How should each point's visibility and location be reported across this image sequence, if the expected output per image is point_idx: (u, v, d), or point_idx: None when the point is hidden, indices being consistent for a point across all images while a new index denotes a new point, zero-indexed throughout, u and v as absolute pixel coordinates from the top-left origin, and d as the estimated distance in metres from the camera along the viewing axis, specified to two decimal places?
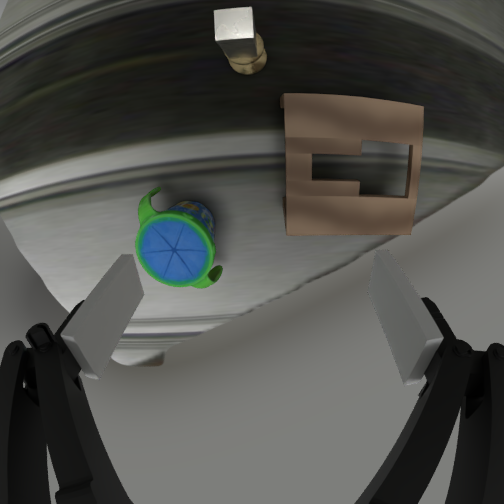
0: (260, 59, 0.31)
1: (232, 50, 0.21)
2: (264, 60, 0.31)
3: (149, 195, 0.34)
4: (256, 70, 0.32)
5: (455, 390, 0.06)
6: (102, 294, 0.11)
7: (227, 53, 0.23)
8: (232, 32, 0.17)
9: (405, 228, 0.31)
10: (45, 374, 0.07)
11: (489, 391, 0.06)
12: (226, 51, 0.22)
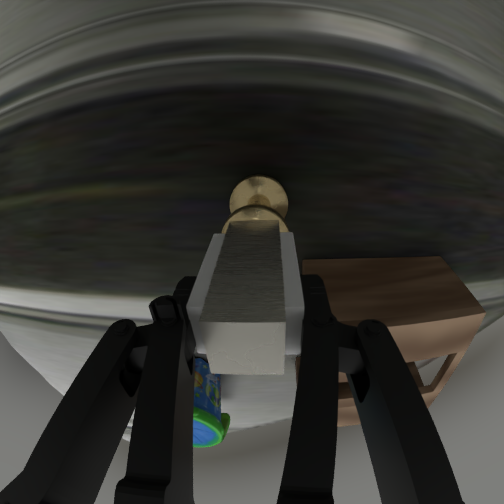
0: (278, 209, 0.24)
1: None
2: (284, 211, 0.24)
3: None
4: None
5: (327, 360, 0.08)
6: None
7: None
8: (243, 366, 0.11)
9: None
10: (159, 351, 0.09)
11: (373, 374, 0.08)
12: None
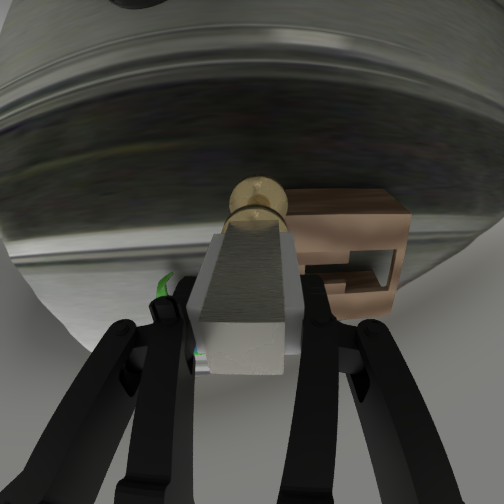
0: (278, 210, 0.24)
1: None
2: (284, 211, 0.24)
3: (165, 285, 0.41)
4: None
5: (327, 360, 0.08)
6: None
7: None
8: (242, 366, 0.11)
9: (384, 311, 0.38)
10: (158, 351, 0.09)
11: (373, 374, 0.08)
12: None
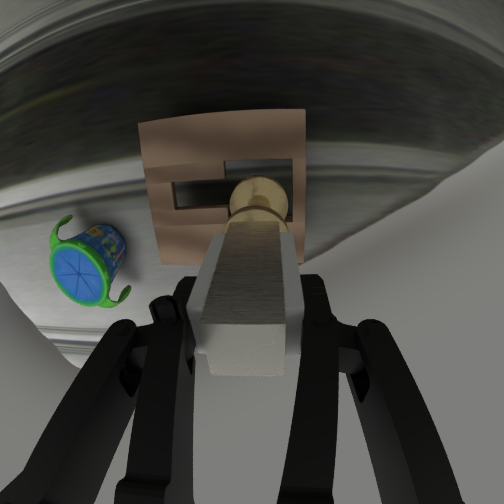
0: (278, 210, 0.24)
1: None
2: (284, 212, 0.24)
3: (58, 224, 0.33)
4: None
5: (327, 360, 0.08)
6: None
7: None
8: (242, 367, 0.11)
9: None
10: (159, 351, 0.09)
11: (373, 374, 0.08)
12: None
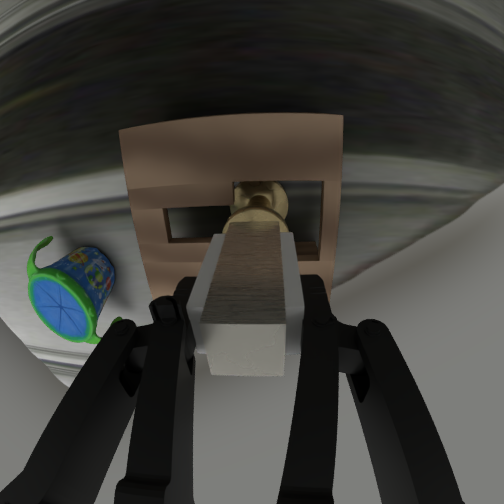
0: (278, 210, 0.24)
1: None
2: (284, 212, 0.24)
3: (35, 248, 0.27)
4: None
5: (327, 360, 0.08)
6: None
7: None
8: (243, 367, 0.11)
9: None
10: (158, 351, 0.09)
11: (372, 374, 0.08)
12: None
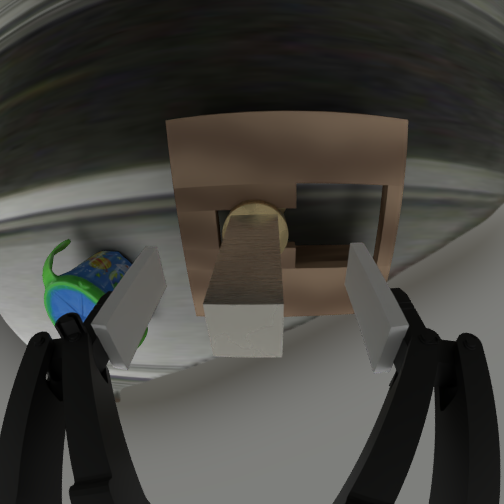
0: None
1: None
2: None
3: (52, 254, 0.26)
4: None
5: (425, 379, 0.07)
6: (131, 284, 0.12)
7: None
8: (243, 348, 0.12)
9: None
10: (72, 365, 0.08)
11: (462, 383, 0.06)
12: None
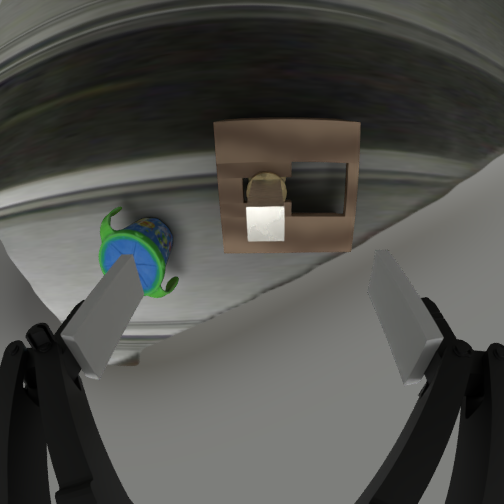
0: None
1: None
2: (283, 182, 0.37)
3: (109, 215, 0.37)
4: None
5: (455, 390, 0.06)
6: (102, 294, 0.11)
7: None
8: (264, 234, 0.23)
9: (344, 245, 0.34)
10: (45, 374, 0.07)
11: (489, 391, 0.06)
12: None
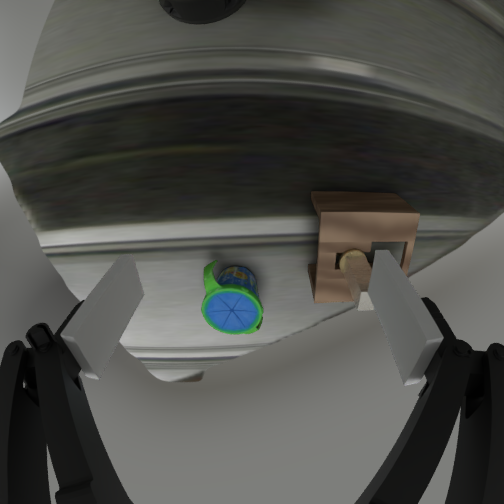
0: None
1: None
2: None
3: (212, 270, 0.48)
4: None
5: (455, 390, 0.06)
6: (102, 294, 0.11)
7: None
8: (368, 306, 0.34)
9: None
10: (45, 374, 0.07)
11: (489, 391, 0.06)
12: None
